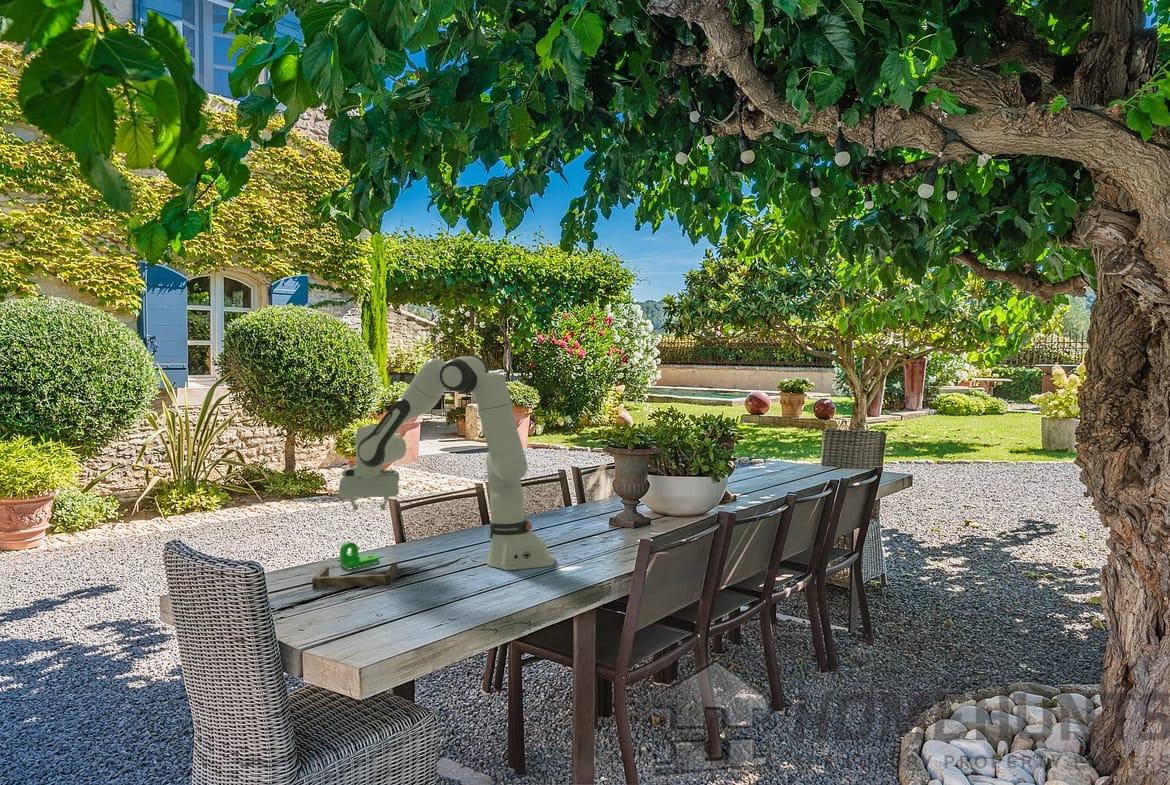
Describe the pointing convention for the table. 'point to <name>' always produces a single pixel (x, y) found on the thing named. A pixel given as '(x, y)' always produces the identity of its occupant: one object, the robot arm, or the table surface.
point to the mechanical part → (355, 556)
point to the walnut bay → (352, 579)
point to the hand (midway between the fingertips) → (369, 509)
